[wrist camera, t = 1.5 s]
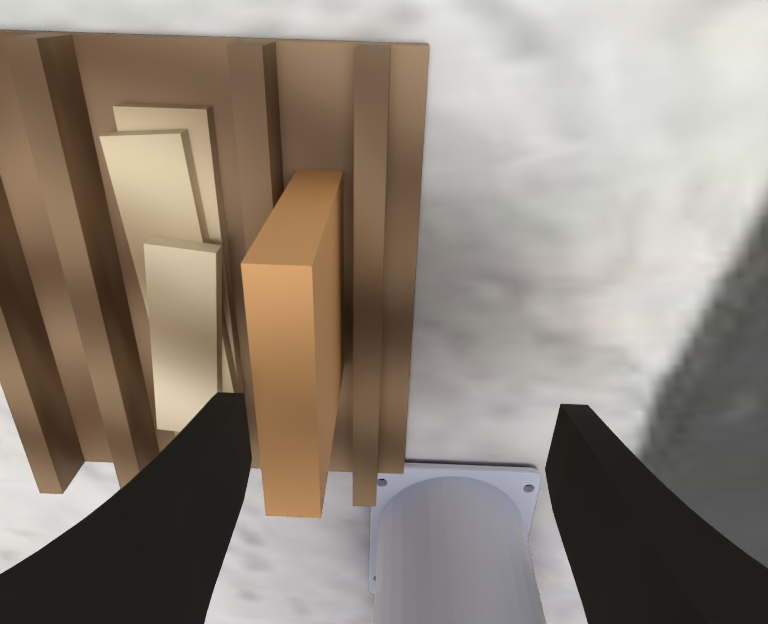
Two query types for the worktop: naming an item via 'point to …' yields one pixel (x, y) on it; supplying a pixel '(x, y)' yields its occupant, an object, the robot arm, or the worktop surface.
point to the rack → (243, 223)
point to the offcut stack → (177, 251)
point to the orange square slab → (297, 338)
